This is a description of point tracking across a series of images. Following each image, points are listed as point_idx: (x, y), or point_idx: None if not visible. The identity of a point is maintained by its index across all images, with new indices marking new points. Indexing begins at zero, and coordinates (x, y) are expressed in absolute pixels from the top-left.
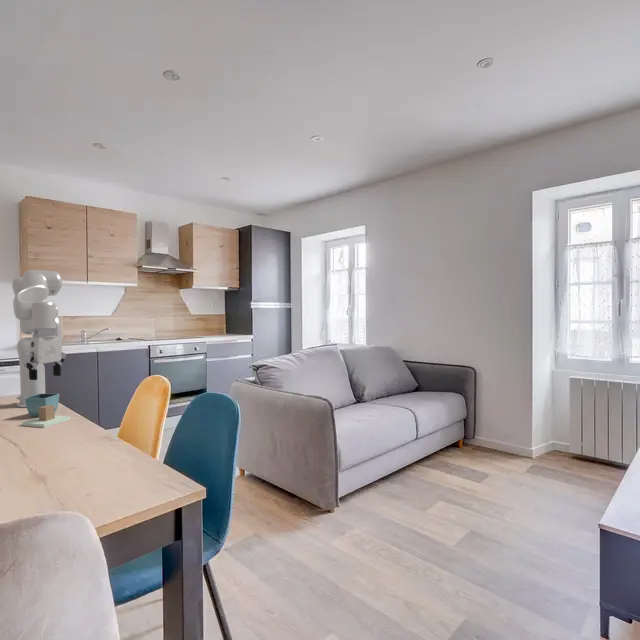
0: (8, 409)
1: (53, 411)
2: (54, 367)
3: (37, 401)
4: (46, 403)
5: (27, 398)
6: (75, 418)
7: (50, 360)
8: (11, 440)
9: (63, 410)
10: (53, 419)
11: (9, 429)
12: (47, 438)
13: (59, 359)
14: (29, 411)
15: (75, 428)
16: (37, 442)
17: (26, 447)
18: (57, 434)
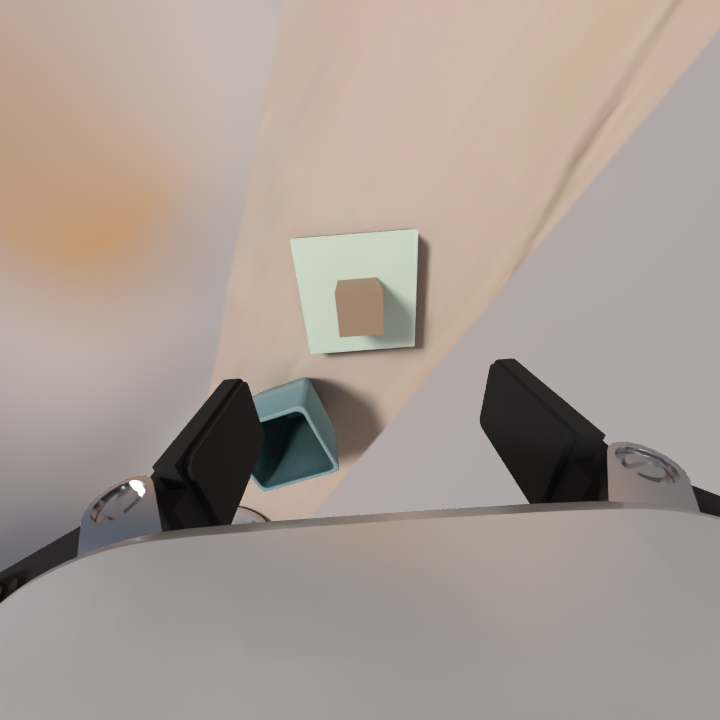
0: None
1: (340, 286)
2: (227, 502)
3: (319, 424)
4: (301, 394)
5: (335, 461)
6: (250, 276)
7: (403, 570)
8: (539, 219)
9: None
10: (350, 269)
11: (431, 359)
12: (508, 72)
13: (68, 587)
14: (332, 424)
15: (350, 99)
16: (566, 54)
17: (638, 22)
18: (448, 90)
